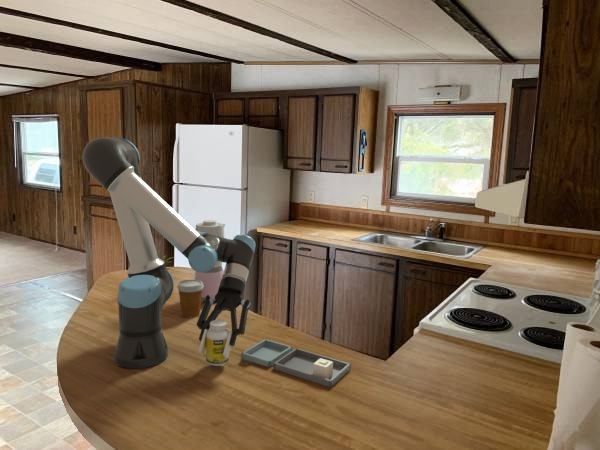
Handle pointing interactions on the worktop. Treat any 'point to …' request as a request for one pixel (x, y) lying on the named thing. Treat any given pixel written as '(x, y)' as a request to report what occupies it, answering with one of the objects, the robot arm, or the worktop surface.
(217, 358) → the pill bottle
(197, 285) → the disposable coffee cup
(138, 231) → the robot arm
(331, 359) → the charcoal tray
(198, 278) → the blender
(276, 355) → the slate tray
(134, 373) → the worktop surface
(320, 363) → the letter cube
